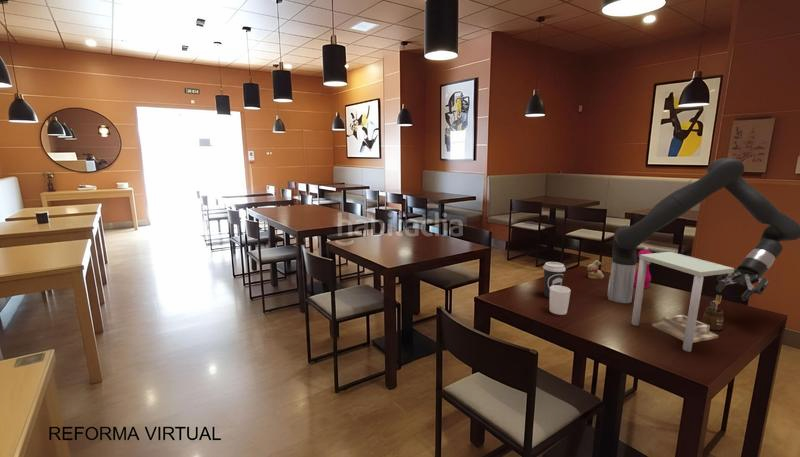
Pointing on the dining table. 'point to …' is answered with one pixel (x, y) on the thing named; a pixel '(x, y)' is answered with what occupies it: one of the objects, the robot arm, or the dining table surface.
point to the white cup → (559, 299)
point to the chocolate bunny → (594, 270)
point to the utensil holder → (713, 316)
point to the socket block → (684, 328)
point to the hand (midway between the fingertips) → (729, 295)
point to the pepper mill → (647, 276)
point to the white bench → (685, 265)
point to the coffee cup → (552, 275)
